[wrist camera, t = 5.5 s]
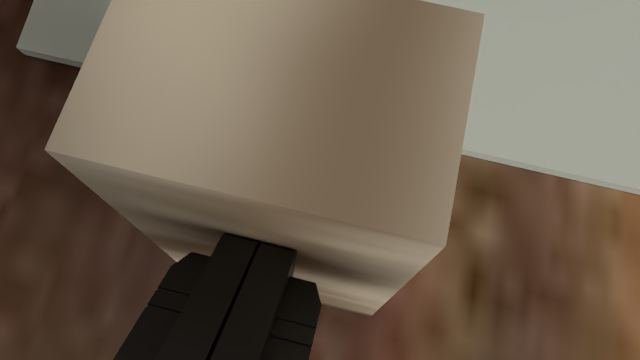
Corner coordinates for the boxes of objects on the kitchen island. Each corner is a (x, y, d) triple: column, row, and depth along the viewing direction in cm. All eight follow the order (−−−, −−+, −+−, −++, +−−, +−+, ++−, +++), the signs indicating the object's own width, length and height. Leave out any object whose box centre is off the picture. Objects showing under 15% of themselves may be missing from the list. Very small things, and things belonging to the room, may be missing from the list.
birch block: (187, 270, 17) (44, 149, 8) (223, 157, 19) (137, -60, 9) (370, 316, 17) (445, 245, 8) (395, 198, 18) (485, 14, 9)
